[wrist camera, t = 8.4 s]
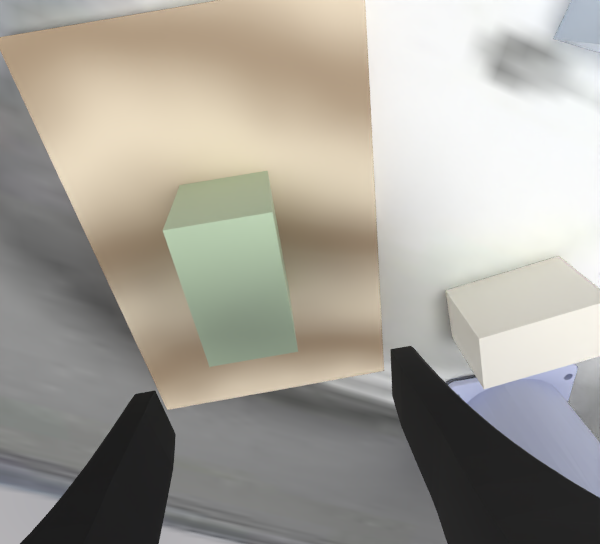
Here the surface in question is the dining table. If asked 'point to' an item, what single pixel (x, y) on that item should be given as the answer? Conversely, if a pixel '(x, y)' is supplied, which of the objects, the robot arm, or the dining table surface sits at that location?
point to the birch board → (219, 168)
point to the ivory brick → (525, 321)
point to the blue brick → (581, 25)
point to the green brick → (232, 267)
